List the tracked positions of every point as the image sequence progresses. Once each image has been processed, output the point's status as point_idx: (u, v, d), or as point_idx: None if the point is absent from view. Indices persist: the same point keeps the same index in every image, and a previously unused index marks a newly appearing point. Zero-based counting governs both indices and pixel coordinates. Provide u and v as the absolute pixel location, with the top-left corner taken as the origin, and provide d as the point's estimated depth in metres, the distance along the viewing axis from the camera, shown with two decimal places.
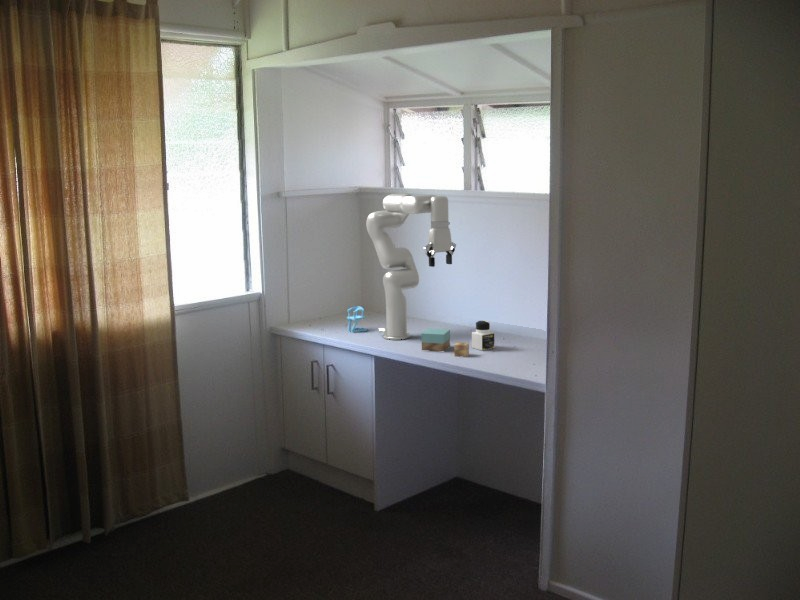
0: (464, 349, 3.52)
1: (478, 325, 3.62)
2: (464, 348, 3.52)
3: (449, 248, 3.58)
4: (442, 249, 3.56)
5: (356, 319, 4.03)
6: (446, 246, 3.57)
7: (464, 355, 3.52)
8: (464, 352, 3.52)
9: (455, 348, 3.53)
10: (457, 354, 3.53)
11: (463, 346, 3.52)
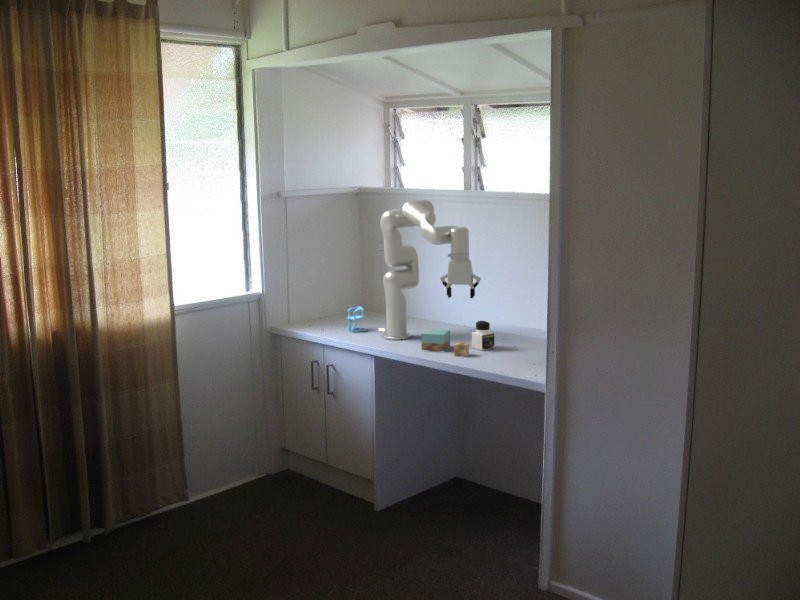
0: (464, 349, 3.52)
1: (478, 325, 3.62)
2: (464, 348, 3.52)
3: None
4: None
5: (356, 319, 4.03)
6: None
7: (464, 355, 3.52)
8: (464, 352, 3.52)
9: (455, 348, 3.53)
10: (457, 354, 3.53)
11: (463, 346, 3.52)
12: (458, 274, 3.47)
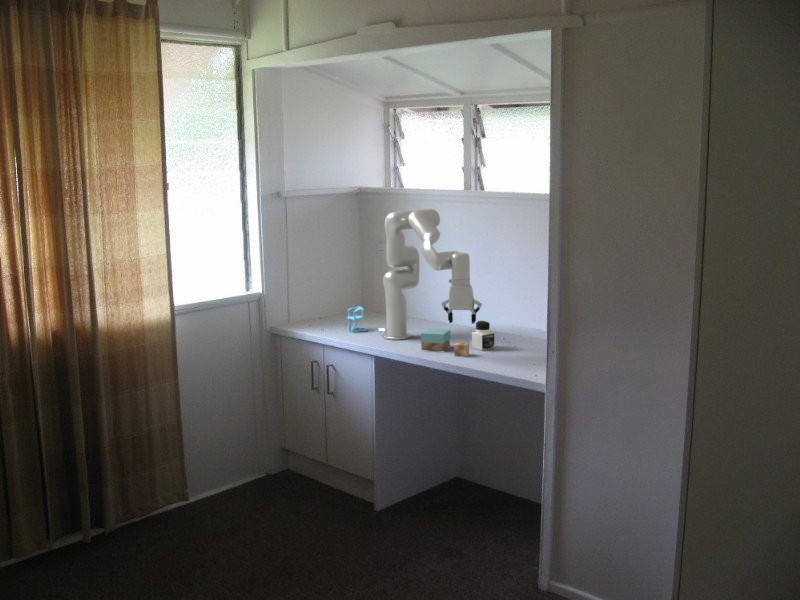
0: (464, 349, 3.52)
1: (478, 325, 3.62)
2: (464, 348, 3.52)
3: None
4: None
5: (356, 319, 4.03)
6: None
7: (464, 355, 3.52)
8: (464, 352, 3.52)
9: (455, 348, 3.53)
10: (457, 354, 3.53)
11: (463, 346, 3.52)
12: (459, 300, 3.48)
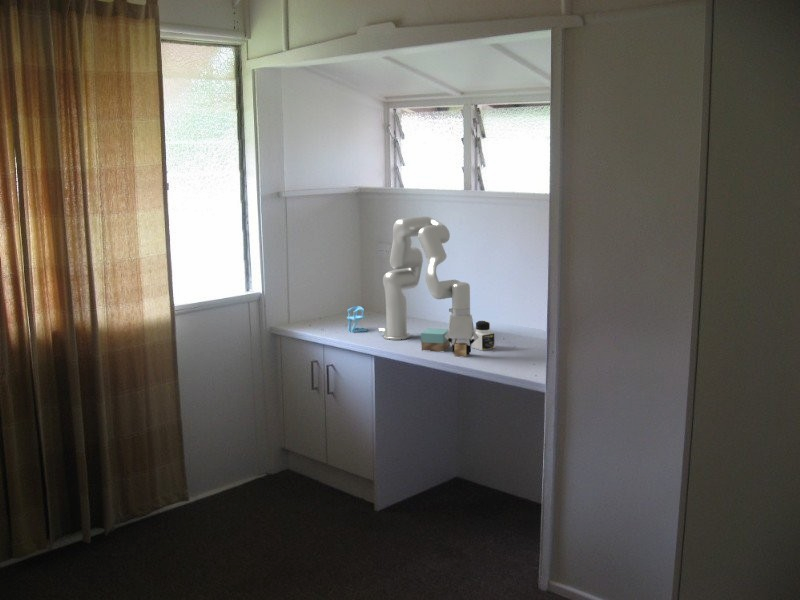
0: (464, 349, 3.52)
1: (478, 325, 3.62)
2: (464, 348, 3.52)
3: None
4: None
5: (356, 319, 4.03)
6: None
7: (464, 355, 3.52)
8: (464, 352, 3.52)
9: (455, 348, 3.53)
10: (457, 354, 3.53)
11: (463, 346, 3.52)
12: (459, 329, 3.51)
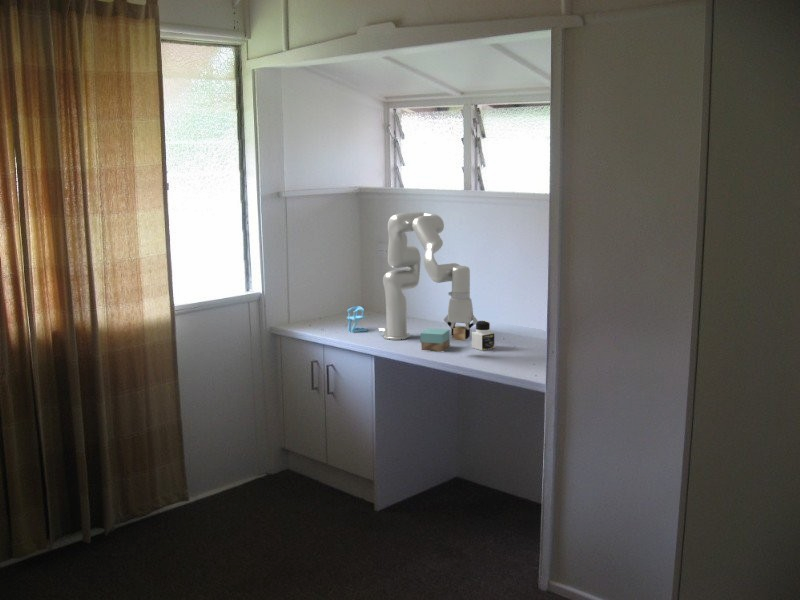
0: (463, 333, 3.51)
1: (478, 325, 3.62)
2: (463, 332, 3.51)
3: None
4: None
5: (356, 319, 4.03)
6: None
7: (463, 339, 3.51)
8: (463, 336, 3.51)
9: (454, 332, 3.52)
10: (456, 338, 3.52)
11: (462, 330, 3.51)
12: (458, 313, 3.50)
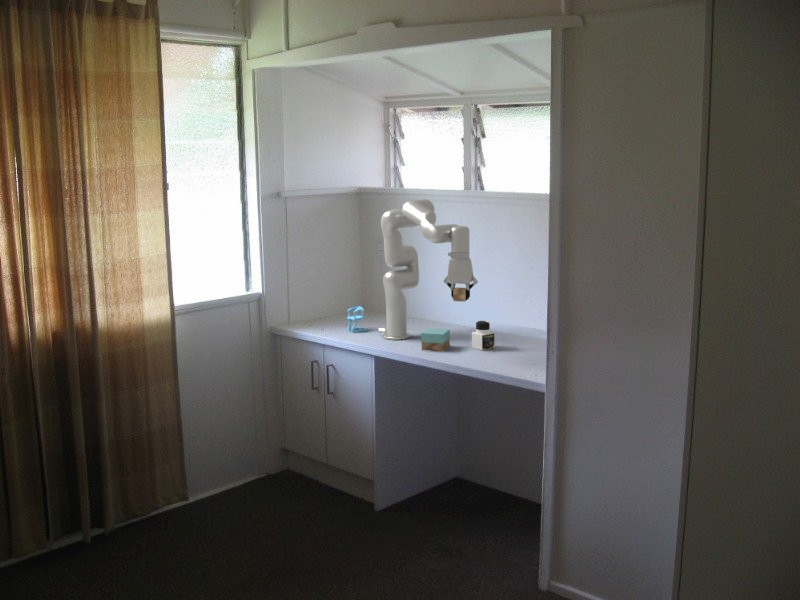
0: (463, 293, 3.48)
1: (478, 325, 3.62)
2: (463, 292, 3.48)
3: None
4: None
5: (356, 319, 4.03)
6: None
7: (463, 300, 3.48)
8: (463, 296, 3.48)
9: (454, 293, 3.49)
10: (456, 299, 3.49)
11: (462, 290, 3.48)
12: (458, 273, 3.46)
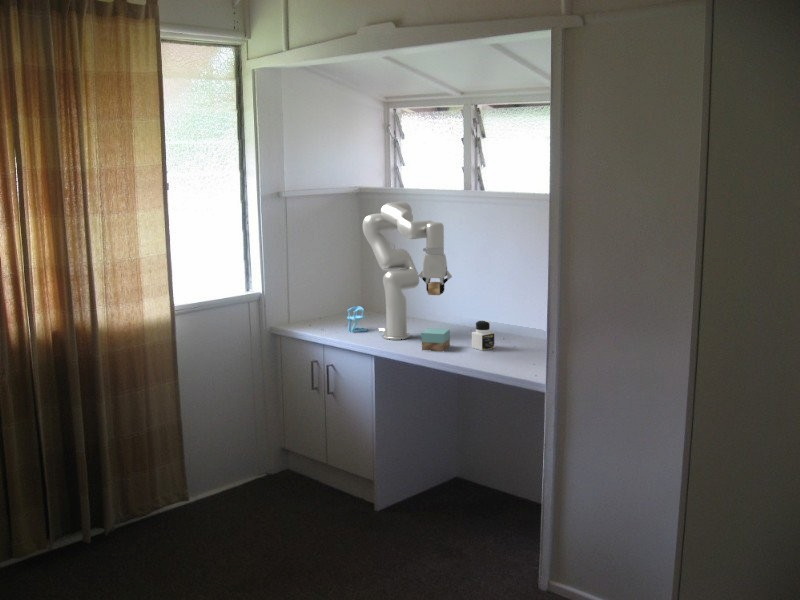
0: (437, 287, 3.60)
1: (478, 325, 3.62)
2: (437, 286, 3.60)
3: None
4: None
5: (356, 319, 4.03)
6: None
7: (437, 293, 3.61)
8: (437, 290, 3.60)
9: (429, 287, 3.61)
10: (431, 292, 3.61)
11: (437, 284, 3.60)
12: (432, 268, 3.59)
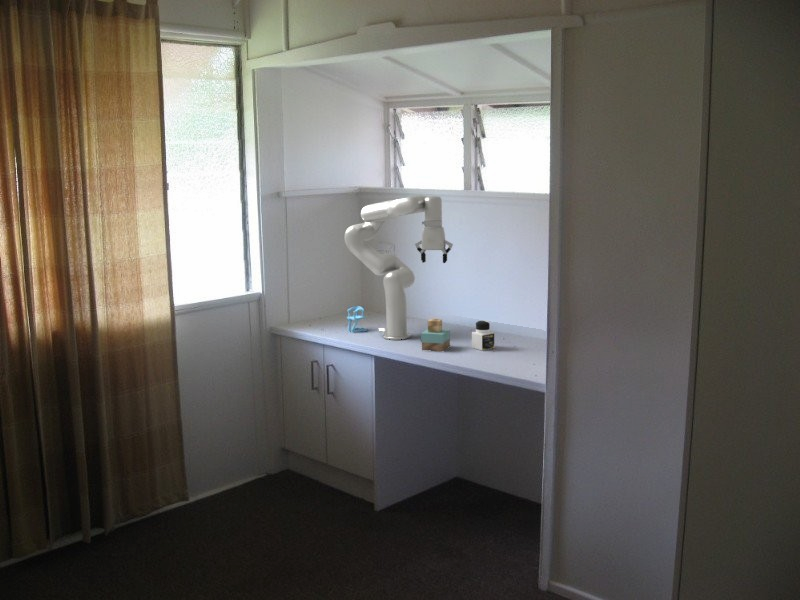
0: (437, 325, 3.64)
1: (478, 325, 3.62)
2: (437, 324, 3.64)
3: None
4: None
5: (356, 319, 4.03)
6: None
7: (437, 331, 3.64)
8: (437, 328, 3.64)
9: (428, 324, 3.65)
10: (430, 330, 3.65)
11: (436, 322, 3.64)
12: (431, 240, 3.71)
